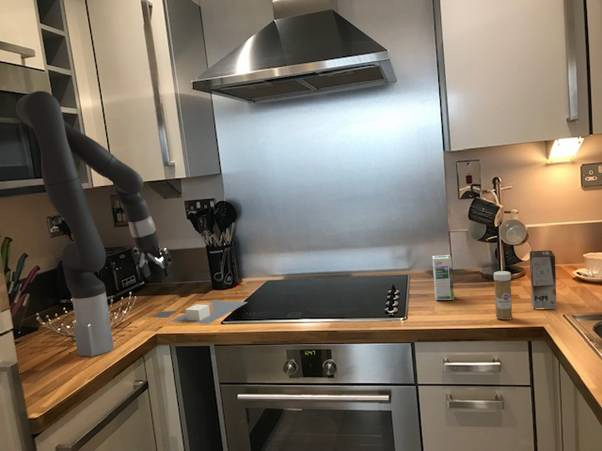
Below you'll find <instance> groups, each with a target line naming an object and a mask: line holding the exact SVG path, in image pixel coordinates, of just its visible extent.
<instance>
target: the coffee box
mask: <svg viewBox="0 0 602 451" xmlns="http://www.w3.org/2000/svg"><path fill="white" fill-rule="evenodd" d="M529 268H530V269H529V270H530V275H529V276H530V297H531V304H533V305H532V308H533V309H534V308H544V309H545V308H546V309H556V310H557V284H556V283H557V282H556V281H557V280H556V276H557V275H556V256H555V254H554V253H553V251H552V250H531V251H529Z"/></svg>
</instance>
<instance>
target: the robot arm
mask: <svg viewBox="0 0 602 451" xmlns="http://www.w3.org/2000/svg"><path fill="white" fill-rule="evenodd" d="M15 106H16V107H15V111H16V115H17V116H18V119H20V121H21V122H22V123H23V124H25V125H26V126H28V127H30V128H32V129H33V132H34V134H35V137H36V140H37V141H38V142H37V143H38V145H39V149H40V151H39V152H40V167H41V176H42V177H41V178H42V181H43V185H44V187H45V188H44V189H45V191H46V195H47V197H48V201H49V202H50V204H51V205H52V207H53V209H54V210H55V212H57V213H58V214H59V216H60V218H61V219H63V220H64V222H65V223H66V225H67V226H68V228H69V230H70V232H71V234H72V237H73V241H69V242H68V243H67V244H65V246H64V248H63V250H62V253H61V263H62V268H63V273H64V279H65V282H66V286H67V288H68V290H69V292H70V293H71V301H72V306H73V314H74V319H75V323H73V325H72V327H73V332H74V339H75V344H76V346H75V347H76V351H77V356H81V357H91V358H92V357H96V356H100V355H103V354H106V353H109V352H110V351H112V350H113V349H114V346H115V345H114V340H113V339H114V338H113V334H112V333H113V332H112V325H111V320H110V318H111V317H110V312H109V306H108V300H107V298H108V297H107V292H106V285H105V283H104V282H103V281H102V280H100V279H99V278H98V277H97V276H96V275H95V273H97V272H99V271H101V270H102V269H103V268H104V267H105V264H106V261H107V259H106V258H107V256H106V255H107V253H106V249H105V246H104V244H103V241H102V239H101V236H100V234H99V232H98V230H97V227H96V225H95V222H94V220H93V216H92V213H91V210H90V207H89V204H88V201H87V198H86V195H85V192H84V187H83V183H82V181H81V180H82V179H81V178H80V175H79V171H78V168H77V165H76V163H75V160H74V156H75V157H76V158H78V159H79V160H80V161H81V162H82V163H84V164H85V165H86V166H87V167H88V168H90V169H91V170H93V171H94V172H95V173H97V175H100V176H102V177H103V178H106V179H107V180H108V181H110V182H112V185H113V188H114V191H115V194H116V195H117V198H118V200H119V201H120V203H121V205H122V207H123V209H124V213H125V216H126V218H127V223H128V227H129V231H130V234H131V237H132V240H133V243H134V246H135V247H133V248H131V249H130V251H131V255H132V258H133V263H134V265H135V266H139V267H140V268H141V271H142V274H143V276H144V278H148V277H149V276H151V274H152V273H151V269H150V266H149V264H148V262H153V263H155V264H156V265H159V266H160V267H161V271H162V273H163V274H162V275H163V276H164V279H169V278H170V277H171V275H172V273H171V269H170V266H172V265H173V264H174V261H173V258H172V255H171V252H170V250H169V248H168V247H167V246H165V247H163V248H162V247H160V245H159V243H160V239H159V235H158V232H157V229H156V225H155V222H154V220H153V218H152V216H151V212H150V209H149V206H148V204H147V201H146V199H144V198H143V197H142V196H141V194H140V192H141V191H142V190H143V188H144V179H143V178H142V176H141V175H140V174H139V173H138V172H137V171H136V170H135V169H133V168H132V167H130V166H128V165H127V164H125V163H124V162H122V160H119V159H118V158H117V157H116V156H115V155H114V154H112V152H110V151H109V150H107V149H106V148H105V147H104V146H103V145H101V144H100V143H99V142H97V141H96V140H95V139H92V138H91V137H89V136H88V135H86V134H84V133H82V132H80V131H79V130H77V128H74V127H73V126H72V125H70V124H69V123H67V122H66V121H65V120H64V116H63V112H62V108H61V104H60V102H59V101H58V99H57V98H56V97H55V96H54V95H53V94H51V93H49V92H47V91H44V90H36V91H34V92H31V93H27V94H25V95H23V96H22V97H20V98H19V99H18V101H17V103H16V105H15Z"/></svg>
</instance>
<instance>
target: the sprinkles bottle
mask: <svg viewBox="0 0 602 451" xmlns="http://www.w3.org/2000/svg"><path fill="white" fill-rule="evenodd" d="M511 280H512V274H511V272H510V271H505V270H504V271H503V270H499V271H495V272H493V281H494V306H495V318H496V317H497V318H499V319H510V318H512V319H513V310H512V309H513V308H512V307H513V305H512V304H513V300H512V287H511V284H512V283H511ZM497 318H496V319H497ZM499 319H498V320H499ZM510 320H511V319H510Z"/></svg>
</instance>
